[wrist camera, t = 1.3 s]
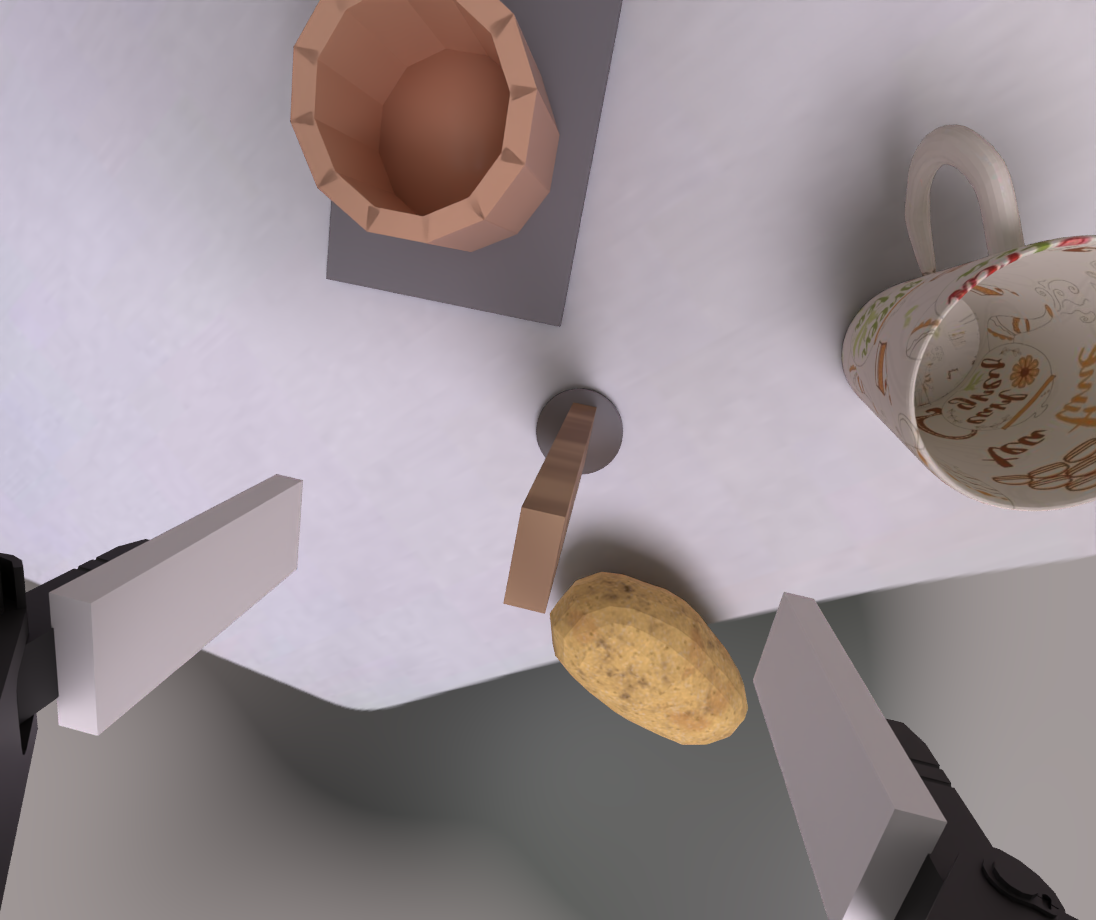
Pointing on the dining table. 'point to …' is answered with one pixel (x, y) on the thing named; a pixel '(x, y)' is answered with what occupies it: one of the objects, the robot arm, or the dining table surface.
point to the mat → (551, 232)
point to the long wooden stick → (559, 488)
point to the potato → (648, 658)
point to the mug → (986, 347)
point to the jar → (424, 118)
